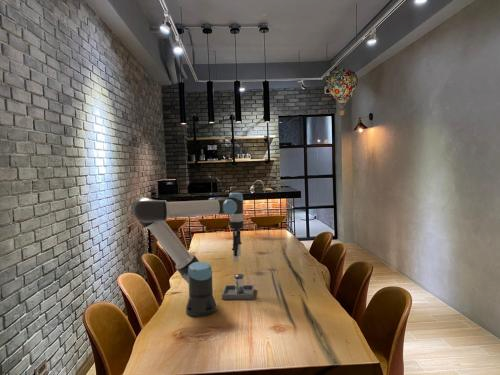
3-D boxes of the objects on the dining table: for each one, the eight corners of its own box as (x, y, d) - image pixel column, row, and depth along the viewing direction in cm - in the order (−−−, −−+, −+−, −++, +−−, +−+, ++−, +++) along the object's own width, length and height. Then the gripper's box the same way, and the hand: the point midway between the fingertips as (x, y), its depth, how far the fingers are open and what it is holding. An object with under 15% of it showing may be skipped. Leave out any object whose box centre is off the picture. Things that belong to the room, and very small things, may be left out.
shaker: (234, 294, 204) (233, 276, 204) (235, 291, 209) (234, 273, 209) (243, 294, 204) (243, 276, 203) (244, 291, 209) (244, 273, 208)
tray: (222, 299, 199) (221, 294, 199) (225, 289, 215) (225, 285, 215) (252, 299, 198) (252, 294, 198) (254, 289, 214) (254, 285, 214)
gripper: (241, 224, 192) (242, 264, 193) (244, 217, 217) (245, 253, 218) (227, 224, 192) (227, 264, 193) (232, 217, 217) (232, 253, 218)
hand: (237, 258), depth 205 cm, fingers open, 13 cm apart
